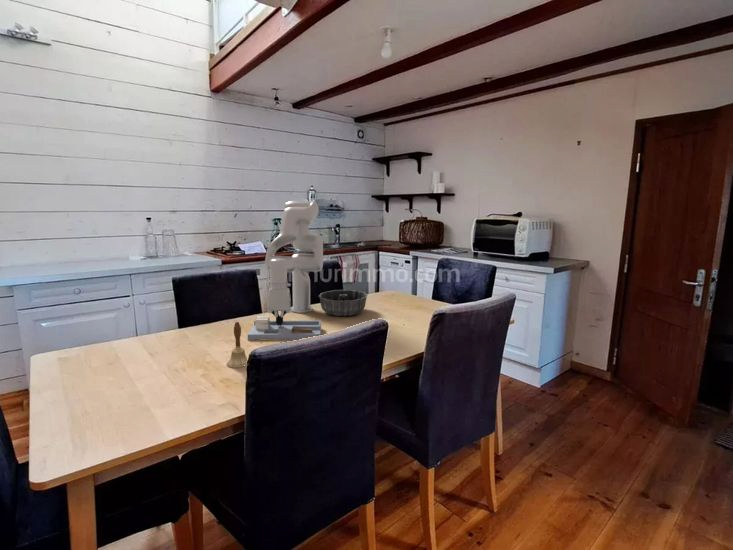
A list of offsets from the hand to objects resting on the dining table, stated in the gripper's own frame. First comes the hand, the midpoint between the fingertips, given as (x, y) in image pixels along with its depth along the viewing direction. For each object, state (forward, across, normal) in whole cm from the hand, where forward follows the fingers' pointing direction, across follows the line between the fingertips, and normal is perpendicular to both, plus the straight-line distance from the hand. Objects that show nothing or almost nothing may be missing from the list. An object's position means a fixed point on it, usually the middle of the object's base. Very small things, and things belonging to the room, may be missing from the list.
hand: (279, 324), depth 179 cm
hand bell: (+4, +10, +36) cm, 37 cm away
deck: (+3, -3, +3) cm, 6 cm away
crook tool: (+1, -11, +8) cm, 14 cm away
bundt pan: (+4, -30, -33) cm, 44 cm away
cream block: (+1, +7, +1) cm, 8 cm away
